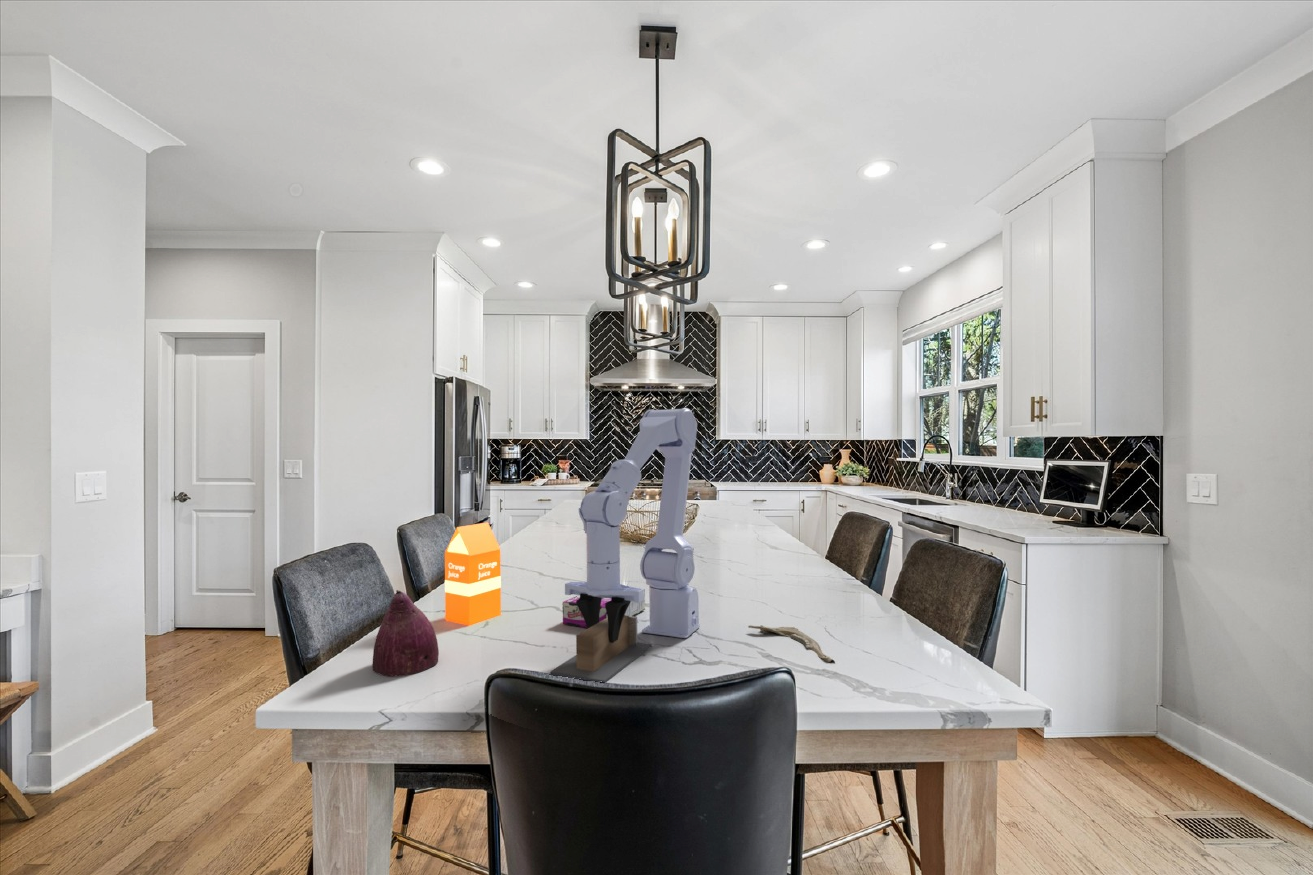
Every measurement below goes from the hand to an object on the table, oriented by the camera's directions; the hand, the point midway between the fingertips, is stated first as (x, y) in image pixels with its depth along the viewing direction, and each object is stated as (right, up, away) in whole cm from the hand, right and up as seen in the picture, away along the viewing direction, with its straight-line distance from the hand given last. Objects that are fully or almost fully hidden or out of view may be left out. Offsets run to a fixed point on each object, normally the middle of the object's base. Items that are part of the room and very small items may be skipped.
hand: (603, 639), depth 104 cm
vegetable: (-33, -4, -2) cm, 34 cm away
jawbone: (+33, -4, +6) cm, 34 cm away
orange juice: (-30, -4, +25) cm, 40 cm away
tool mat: (0, -3, 0) cm, 3 cm away
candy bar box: (-5, -1, +17) cm, 18 cm away
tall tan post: (0, -3, 0) cm, 3 cm away
